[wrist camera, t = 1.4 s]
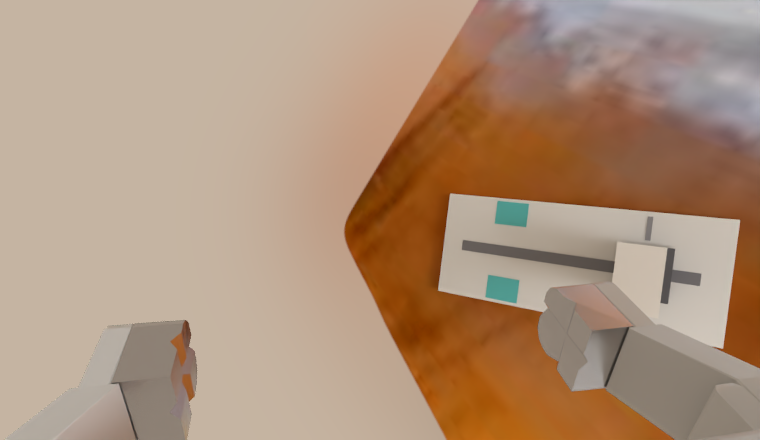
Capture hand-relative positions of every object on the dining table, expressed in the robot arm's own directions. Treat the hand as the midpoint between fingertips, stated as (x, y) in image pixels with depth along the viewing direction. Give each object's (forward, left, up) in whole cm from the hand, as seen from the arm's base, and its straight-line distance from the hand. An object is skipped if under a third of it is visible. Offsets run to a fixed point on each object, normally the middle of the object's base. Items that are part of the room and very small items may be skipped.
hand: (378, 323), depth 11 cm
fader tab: (-3, +3, -36) cm, 37 cm away
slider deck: (+1, -2, -38) cm, 38 cm away
